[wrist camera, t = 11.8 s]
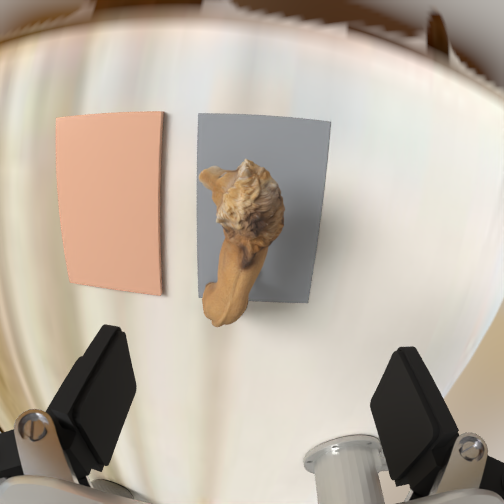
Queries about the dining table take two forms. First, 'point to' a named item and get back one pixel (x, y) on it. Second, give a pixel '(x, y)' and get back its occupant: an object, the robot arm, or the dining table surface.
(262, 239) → the lion figurine
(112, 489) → the lamp
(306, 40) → the dining table surface
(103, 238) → the terracotta tile
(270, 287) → the slate tile
